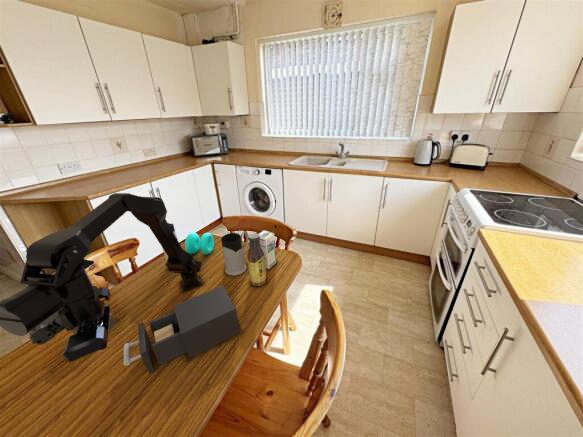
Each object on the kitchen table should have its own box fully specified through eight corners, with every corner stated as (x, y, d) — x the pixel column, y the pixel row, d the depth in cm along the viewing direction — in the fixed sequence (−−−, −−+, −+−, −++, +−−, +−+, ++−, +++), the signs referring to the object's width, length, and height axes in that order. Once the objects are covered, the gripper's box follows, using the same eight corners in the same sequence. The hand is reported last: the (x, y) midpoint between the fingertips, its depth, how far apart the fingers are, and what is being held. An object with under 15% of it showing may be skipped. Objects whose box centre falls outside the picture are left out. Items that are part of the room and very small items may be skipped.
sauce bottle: (263, 287, 88) (258, 241, 80) (248, 286, 89) (241, 240, 81) (268, 276, 94) (264, 232, 85) (253, 275, 95) (248, 231, 87)
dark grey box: (189, 358, 64) (180, 333, 60) (181, 328, 73) (173, 305, 69) (240, 332, 71) (235, 308, 67) (227, 308, 80) (222, 285, 76)
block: (158, 342, 66) (153, 331, 64) (175, 335, 68) (171, 323, 66) (160, 355, 63) (155, 344, 61) (178, 346, 65) (174, 335, 63)
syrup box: (269, 269, 98) (266, 239, 92) (257, 265, 101) (254, 235, 95) (277, 262, 102) (274, 232, 96) (266, 258, 105) (263, 229, 99)
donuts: (196, 246, 116) (192, 228, 112) (216, 247, 115) (212, 228, 111) (186, 258, 107) (181, 239, 103) (207, 259, 106) (203, 239, 102)
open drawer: (129, 384, 57) (118, 363, 54) (129, 351, 65) (119, 331, 62) (204, 346, 66) (198, 326, 63) (195, 321, 74) (190, 302, 71)
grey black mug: (220, 271, 98) (214, 240, 91) (242, 254, 109) (238, 225, 103) (237, 277, 94) (231, 245, 87) (258, 259, 105) (255, 229, 99)
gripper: (37, 284, 53) (67, 333, 59) (4, 347, 38) (49, 403, 45) (98, 266, 58) (120, 313, 65) (90, 316, 44) (119, 370, 50)
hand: (104, 344), depth 56 cm, fingers closed
